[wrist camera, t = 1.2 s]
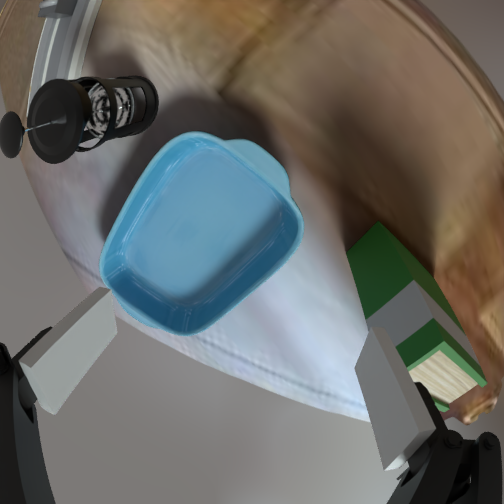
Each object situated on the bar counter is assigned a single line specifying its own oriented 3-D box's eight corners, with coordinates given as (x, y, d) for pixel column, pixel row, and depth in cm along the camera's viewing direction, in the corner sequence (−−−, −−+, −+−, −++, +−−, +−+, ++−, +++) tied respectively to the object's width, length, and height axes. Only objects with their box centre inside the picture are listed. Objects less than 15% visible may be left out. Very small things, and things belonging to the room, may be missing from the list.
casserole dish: (208, 95, 33) (192, 95, 27) (330, 198, 39) (339, 218, 33) (104, 261, 50) (85, 283, 44) (192, 325, 56) (183, 351, 49)
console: (62, -11, 21) (53, -13, 18) (110, -21, 21) (102, -25, 19) (32, 115, 34) (23, 117, 32) (73, 120, 35) (63, 122, 33)
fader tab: (64, -3, 21) (43, -7, 16) (82, -7, 21) (60, -13, 16) (57, 18, 23) (34, 16, 18) (74, 15, 23) (51, 12, 18)
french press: (174, 103, 33) (58, 126, 14) (135, 150, 37) (23, 213, 18) (124, 58, 30) (-1, 56, 10) (90, 105, 34) (-29, 139, 14)
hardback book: (433, 278, 43) (487, 383, 23) (405, 303, 47) (444, 412, 26) (378, 220, 39) (444, 340, 19) (345, 253, 43) (380, 383, 22)
